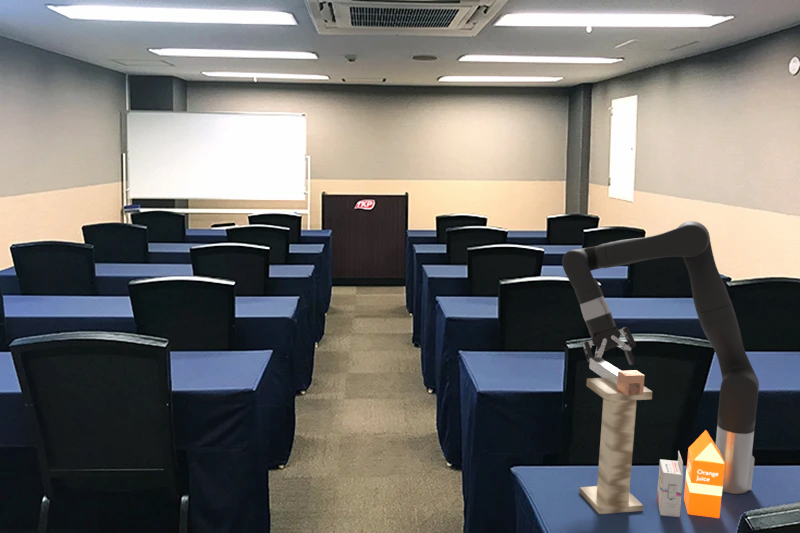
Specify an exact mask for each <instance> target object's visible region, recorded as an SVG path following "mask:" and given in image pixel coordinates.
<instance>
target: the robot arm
mask: <svg viewBox="0 0 800 533" xmlns="http://www.w3.org/2000/svg"><path fill="white" fill-rule="evenodd" d="M676 257H678V258H680V257H681V258H682V259H683V262H684V264H685V266H686V268H687V271H688V275H689V279H690V286H691V287H690V288H691V294H692V300H693V304H694V308H695V312H696V314H697V318H698V321H699V323H700V327H701V329H702V331H703V333H704V335H705V336H706V339H707V340H708V342H709V343H710V345H711V347H712V349H713V351H714V352H715V355H716V358H717V361H718V364H719V369H720V374H721V378H722V379H721V384H720V389H719V399H718V408H717V409H718V411H717V426H716V437H715V445H716V446H717V448H718V450H719V451H720V454H721V456H722V458H723V461H724V463H725V467H724V476H723V488H722V492H724V493H727V494H733V495H739V494H740V495H741V494H745V493H747V492H748V491H752V486H753V477H754V469H755V468H754V466H755V457H754V456H753V446H754V438H755V437H754V436H755V427H756V418H757V417H756V416H757V407H758V397H759V390H760V383H759V379H758V377H757V374H756V372H755V370H754V368H753V366H752V365H751V362H750V359H749V357H748V355H747V353H746V349H745V347H744V344H743V338H742V334H741V330H740V326H739V323H738V319H737V316H736V312H735V309H734V305H733V302H732V299H731V298H730V295H729V293H728V289H727V287H726V285H725V282H724V280H723V278H722V276H721V274H720V272H719V269H718V267H717V265H716V260H715V257H714V252H713V247H712V242H711V237H710V232H709V230H708V228H707V227H706V226H705V225H703V224H702V223H701V222H698V221H695V220H694V221H693V220H692V221H691V220H689V221H685V222H683V223H682V224H680V225H679V226H678V227H676V228H674V229H672V230H668V231H665V232H663V233H658V234H656V235H651V236H645V237H638V238H637V237H636V238H628V239H627V238H626V239H620V240H615V241H610V242H606V243H601V244H599V245H596V246H590V247H584V248H583V247H582V248H578V249H570V250H568V251H566V252H565V253H564V255H563V257H562V260H561V263H562V264H561V265H562V268H563V271H564V273H565V275H566V277H567V280H568V281H569V282H570V284H571V286H572V288H573V289H574V292H575V295H576V298H577V300H578V304H579V306H580V307H579V308H580V310H581V314H582V318H583V319H584V322H585V324H586V328H587V329H588V333H589V335H590V337H591V340H587V341H586V340H585V341H582V343H581V345H582V347H583V351H584V353H585V354H584V356H585V357H586V361H587V363H590V358H597V357H600V358H602V359H603V355H604V352H605V351H609V350H610V349H614V348H615V349H616V348H617V347H618V348H619V349H621V350H623V351H624V355H625V357H626V359H627V360H626V361H627V362H628V365H630V366H632V365H634V363H635V357H634V354H633V351H632V350H633V348H635V347H636V346H637V343H636V341H635V338H634V336H633V334H632V332H631V330H630V328H629V326H625V327H622V328H620V329H618V328H617V325H616V323H615V320H614V318H613V315H612V312H611V309H610V306H609V304H608V303H607V301H606V299H605V297H604V294H603V292H602V289H601V286H600V284H599V282H598V281H597V279H595V277H594V276H593V273H592V271H595V270H600V269H608V268H609V269H610V268H614V267H615V268H616V267H620V266H625V265H631V264H634V263H639V262H642V261H648V260H653V259H654V260H655V259H662V258H676ZM621 335H622V336H623V337H625V340H626V342H627V343H625V342H624V341H622V339H620V337H621ZM592 345H593V346H595V347H596V349H595V352H594V354H593V352H592V348H593V346H592Z"/></svg>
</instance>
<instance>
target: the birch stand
mask: <svg viewBox="0 0 800 533" xmlns="http://www.w3.org/2000/svg"><path fill="white" fill-rule="evenodd" d="M586 387H588V388H589V389H590V390H591V391H593V393H595V394H597V395H598V396H600V397H601V398H602V412H601V426H600V427H601V428H600V429H601V430H600V441H599V442H600V444H599V457H598V470H597V484H596V485H594V486H580V487H579V490H578V491H579V494H580V495H581V496H582V497H583V498H584V499H585V501H586V502H587V503H588V504H590V506H591V507H592V508H593V509H594V511H596V513H598V514H599V515H607V514H609V515H610V514H616V513H617V514H618V513H619V514H620V513H630V512H632V513H633V512H643V511H644V505H643V503H641V502H640V501H639V500H638V499H637V498H636V497H635V496H634V495H633V494H632V493H631V492H630V491H631V488H630V487H631V477H632V476H631V475H632V464H633V463H632V462H633V454H634V453H633V452H634V451H633V450H634V441H635V440H634V439H635V426H636V413H637V412H636V411H637V401H642V400H645V401H646V400H653V390H651V389H649V388H648V387H646V386H645V385H644V389H643V395H625V396H624V395H623V394H621V393H620V392H619V391H617V387H615V386H614V385H613V384H611V383H610V382H608V381H607V380H605V379H604V378H602V377H593V378H591V377H589V378H586Z"/></svg>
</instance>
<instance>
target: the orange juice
mask: <svg viewBox="0 0 800 533" xmlns="http://www.w3.org/2000/svg"><path fill="white" fill-rule="evenodd" d="M687 449H688V451H687V462H686V470H685V482H684V483H685V484H684V494H683V502H684V503H685V508H686V512H687V514H688V515H691V516H697V517H698V516H699V517H700V516H701V517H707V518H715V519H720V515H721V506H722V504H721V503H722V496H723V491H722V488H723V476H724V467H725V463H724V461H723V458H722V456H721V454H720V451H719V450H718V448H717V446H716V442H715V441H714V440H713V438H712V437H711V436H710V433H709V431H707V430H706V429H705V430H704V431H703V432H702V433H701V434H700V435H699V436H698V438H696V439H695V441H694V442H693V443H692V444H691V445H690V446H689V447H688V448H687Z"/></svg>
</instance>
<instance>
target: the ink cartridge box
mask: <svg viewBox="0 0 800 533" xmlns="http://www.w3.org/2000/svg"><path fill="white" fill-rule="evenodd" d="M677 457H678V458H677V460H670V459H661V458H660V459H659V465H658V466H659V470H658V482H657V494H656V501H657V505H658V510H659V511H658V512H659V514H660V516H664V517H675V518H680V516H681V505H682V493H683V481H684V462H683V459H682V458H683V457H682V456H681V453H680V450H678V451H677Z"/></svg>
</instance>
